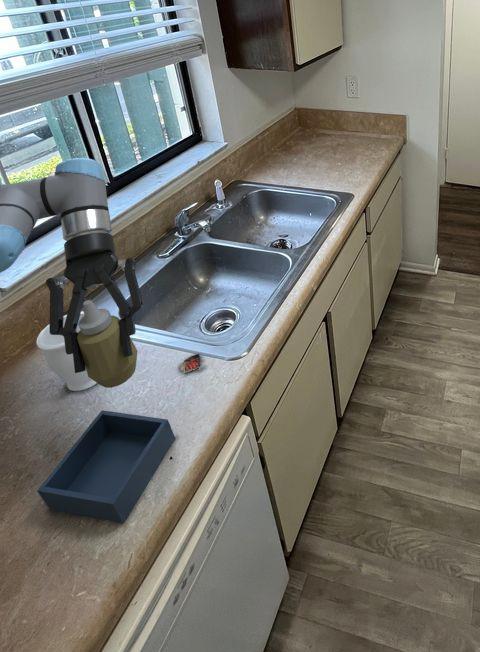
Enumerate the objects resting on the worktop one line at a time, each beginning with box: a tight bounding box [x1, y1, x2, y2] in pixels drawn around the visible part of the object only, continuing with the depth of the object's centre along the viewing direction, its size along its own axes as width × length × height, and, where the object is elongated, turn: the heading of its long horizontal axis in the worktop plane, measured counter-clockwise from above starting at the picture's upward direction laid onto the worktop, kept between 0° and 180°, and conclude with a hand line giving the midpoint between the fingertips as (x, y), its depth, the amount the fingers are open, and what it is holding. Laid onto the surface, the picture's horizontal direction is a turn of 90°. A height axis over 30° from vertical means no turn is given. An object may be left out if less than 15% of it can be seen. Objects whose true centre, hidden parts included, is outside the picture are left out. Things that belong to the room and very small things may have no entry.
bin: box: [36, 409, 176, 525], centre depth 81 cm, size 15×15×6 cm
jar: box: [36, 310, 98, 392], centre depth 98 cm, size 11×10×15 cm
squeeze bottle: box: [77, 299, 138, 389], centre depth 78 cm, size 8×8×18 cm
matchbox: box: [179, 353, 202, 374], centre depth 103 cm, size 5×5×1 cm
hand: (104, 363), depth 76 cm, fingers closed on squeeze bottle, 6 cm apart
